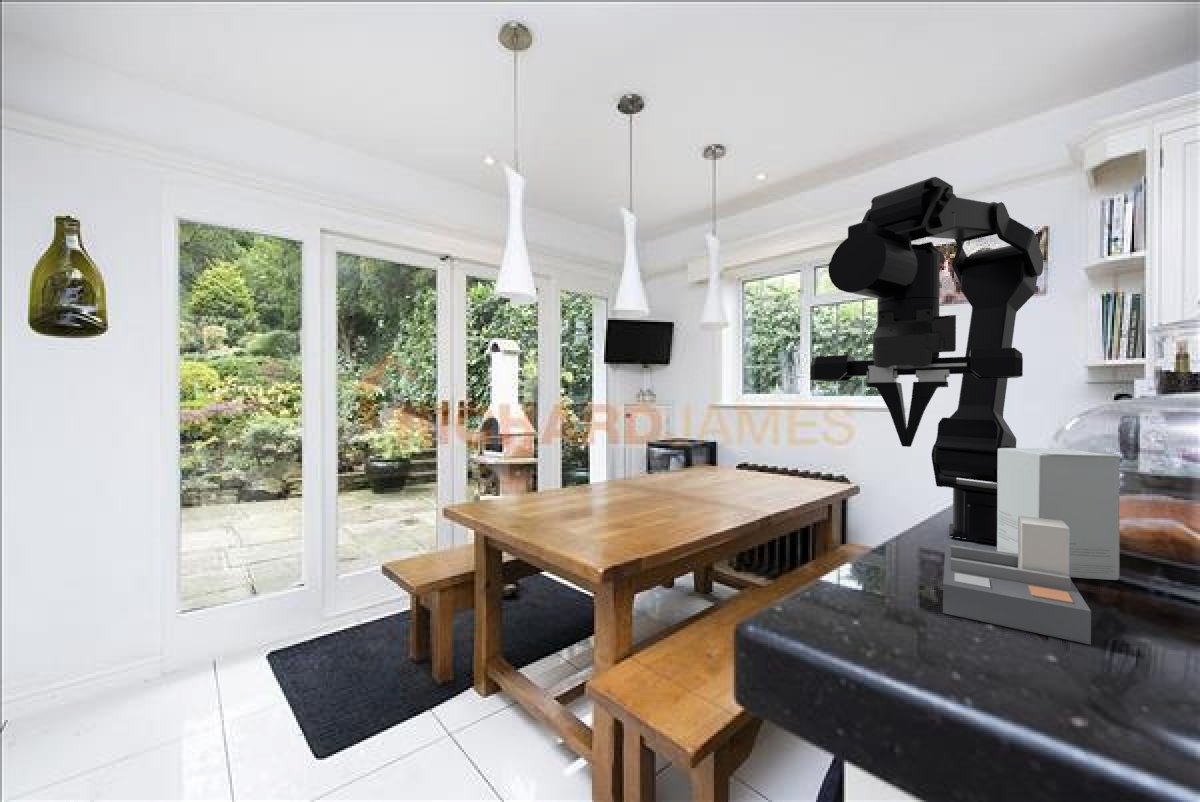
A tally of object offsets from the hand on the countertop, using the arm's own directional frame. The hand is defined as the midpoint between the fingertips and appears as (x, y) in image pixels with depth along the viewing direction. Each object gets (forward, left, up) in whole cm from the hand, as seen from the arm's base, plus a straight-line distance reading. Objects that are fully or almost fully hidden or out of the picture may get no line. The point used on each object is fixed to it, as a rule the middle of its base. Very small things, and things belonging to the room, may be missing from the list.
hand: (906, 446), depth 53 cm
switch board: (+5, +8, -13) cm, 16 cm away
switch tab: (+5, +11, -10) cm, 16 cm away
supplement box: (-9, +13, -13) cm, 21 cm away
